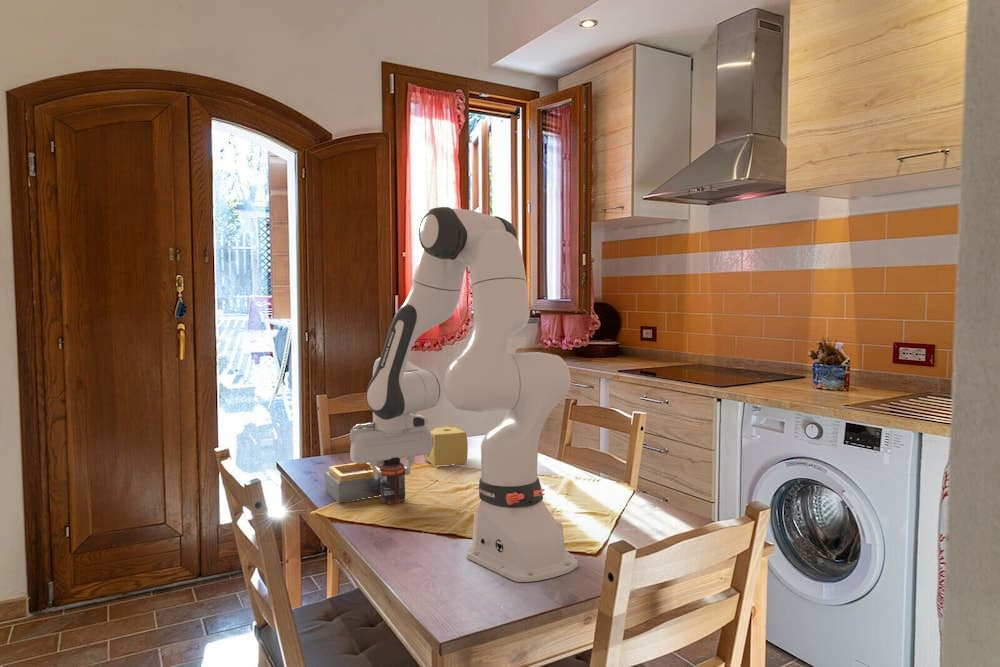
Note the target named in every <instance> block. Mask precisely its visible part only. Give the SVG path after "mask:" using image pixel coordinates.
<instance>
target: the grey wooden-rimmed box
mask: <svg viewBox="0 0 1000 667" xmlns="http://www.w3.org/2000/svg"><path fill="white" fill-rule="evenodd" d="M375 467H376V466H375ZM376 468H377V470H380V469H379V468H378V467H376ZM324 474H325V492H326V493H327V494H328V495H330V497H331V498H332V499H333V500H335V501H336V502H337V503H338V502H339V503H340V504H342V503H341V502H346V501H352V500H357V499H362V498H368V497H374V496H379V495H381V484H380V479H375V478H374V471H373V470H372V468H371V467H370V465H369V463H362V464H356V463H354V462H353V463H347V464H345V463H344V464H340V465H339V464H338V465H332V466H331V465H330V466H328V471H325V473H324ZM352 502H353V501H352ZM339 503H338V504H339ZM346 503H347V502H346Z"/></svg>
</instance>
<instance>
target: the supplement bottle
mask: <svg viewBox="0 0 1000 667" xmlns="http://www.w3.org/2000/svg"><path fill="white" fill-rule="evenodd" d="M404 466H405V465H404V464H403V463H402V462H401V458H398V457H393V458H391V459H390V460H384V463H383V464H382V465H381V467H380V471H381V472H382V479H380V484H381V497H380V501H381V502H382V503H383V502H384V503H383V504H386V503H390V504H389V505H393V504H392V503H397V504H400V503H399V502H401V503H403V502H404V501H405V500H406V481H405V480H406V479H405V476H406V475H405V474H404V473H405V472H404ZM402 501H403V502H402Z"/></svg>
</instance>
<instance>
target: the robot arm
mask: <svg viewBox="0 0 1000 667" xmlns="http://www.w3.org/2000/svg"><path fill="white" fill-rule="evenodd" d="M418 237H419V243H420V245H421V247H422V248H421V251H420V253H419V256H418V259H417V262H416V266H415V269H414V273H413V280H412V284H411V287H410V290H409V292H408V295H407V297H406V298H405V301H404V303H403V304H402V305H401V307H400V308H398V310H397V311H396V313H395V314H394V316H393V319H392V321H391V323H390V328H389V330H388V333H387V336H386V339H385V343H384V345H383V348H382V351H381V355H380V357H377V358H376V359H375V361H374V363H373V364H374V365H373V367H372V369H373V370H372V376H371V379H370V381H369V383H368V386H367V388H366V393H365V398H366V404H367V407H369V409H370V411H371V412H372V422H367V423H358V424H355V426H353V427H352V428H350V431H349V440H350V449H349V450H350V452H349V459H350V461H352V462H353V463H356V464H362V463H369V465H370V467H371V468H372V470H373V471H374V478H375V479H382V472H381V471H380V470H377V468H376V467H375V466H377V465H378V461H383V460H390V459H391V458H393V457H398V458H400V459H404V458H405V459H406V460H407V461H406V463H405V465H404V472H405V473H404V474H405V476H407V475H411V469H412V466H413V464H414V462H415V457H418V456H424V455H426V454H430V452H431V451H432V437H431V432H430V431H431V430H430V428H429V424H430V423H429V418H427V417H426V416H424V415H421V414H418V413H417V412H420V411H425V410H428V409H431V408H433V407H435V406H436V405H437V404H438V402H439V399H440V398H441V385H440V381H439V380H438V378H437V376H436V375H435V373H433V372H432V371H430V370H426V369H423V368H421V367H419V366H417V365H415V364H414V363H412V362H411V361H410V360H409V357H410V354H411V351H412V349H413V348H412V347H413V346H414V344H415V342H416V341H417V340H418V338H420V337H421V336H422V335H423V334H424V333H426V332H427V331H429V330H430V329H432V328H434V327H437V326H438V325H441V324H442V323H444V322H446V321H447V320H449V319H450V318H451V317H452V316H453V315H454V313H455V311H456V309H457V308H458V305H459V302H460V297H461V293H462V287H463V283H464V276H465V275H464V274H465V272H466V269H467V267H469V270H470V282H471V283H470V284H471V285H470V286H471V295H472V297H471V298H472V329H471V333H470V336H469V339H468V342H467V344H466V345H465V347H464V348H463V350H462V351H461V352H460V354H459V355H457V357H456V358H455V359H453V360H452V361H451V363H450V364H449V365H448V367H447V369H446V370H445V374H444V376H443V390H444V394H445V396H446V398H447V400H448V402H449V403H450V404H451V405H452V406H453V407H454V408H455V409H457V410H462V411H468V412H469V411H471V412H477V413H478V412H493V411H494V412H495V411H505V410H506V413H505V415H504V418H503V419H502V420H501V422H500V423H499V424H498V425H497V426H496V427H494V428H493V429H491V430H489V431H488V432H487V433H486V434H485V435H484V437H483V439H482V441H481V444H480V458H481V459H480V463H481V464H480V469H481V470H480V471H481V476H480V478H479V480H478V481H479V483H478V497H479V499H480V502H479V505H478V507H477V509H476V510H475V512H474V514H473V515H474V516H473V528H472V544H471V547H470V548H469V549H468V550H467V552H466V558H467V560H470V561H472V562H474V563H476V564H478V565H480V566H482V567H483V568H487V569H489V570H490V571H493V572H495V573H496V574H499V575H501V576H503V577H505V578H507V579H510V580H511V581H514V582H515V583H517V582H518V583H523V582H524V583H528V582H538V581H543V580H548V579H552V578H556V577H560V576H563V575H565V574H567V573H570V572H572V571H574V570H575V569H577V568H578V566H579V561H578V560H577V558H576V557H575V556H574V555H572V554H571V553H570V552H569V551H568V550H567V549H566V548H565V547H566V546H565V536H564V532H563V531H564V526H563V524H562V523H561V522H560V521H556V519H555V518H554V517H553V514H552V513H551V512H550V511H549V509H548V507H547V506H546V504H545V503H544V501H543V499H544V496H545V493H543V492H544V491H545V488H542V485H541V482H540V479H539V477H538V459H539V458H538V456H539V455H538V454H539V444H540V443H539V441H540V437H541V433H542V431H543V427H544V426H545V422H546V421H547V420H548V418H549V416H550V415H551V413H552V411H553V410H554V408H556V407H557V405H558V404H560V403H561V402H562V401H563V400H564V399H565V398H566V397H567V395H568V393H569V391H570V386H571V379H572V378H571V371H570V369H569V367H568V365H567V363H566V361H565V360H564V359H563V358H562V357H561V356H560V355H557V354H553V353H549V352H541V351H531V352H530V351H529V352H528V351H527V352H508V341H509V339H510V337H513V336H514V335H515V334H517V333H519V332H520V331H522V330H523V329H524V328H525V327H526V326H527V324H528V322H529V320H530V315H531V314H530V312H531V311H530V305H529V304H530V303H529V302H530V301H529V294H528V282H527V276H526V269H525V263H524V259H523V255H522V251H521V248H520V244H519V241H518V236H517V231H516V229H515V227H514V225H513V224H512V223H511V222H510V221H509V220H506V219H504V218H502V217H500V216H495V215H494V216H492V215H489V214H486V213H482V212H477V211H475V210H472V209H464V208H451V207H448V206H439V207H433V208H431V209H429V210H428V211H427V212H426V213H425V214H424V216H423V218H422V219H421V222H420V224H419V229H418Z"/></svg>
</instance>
